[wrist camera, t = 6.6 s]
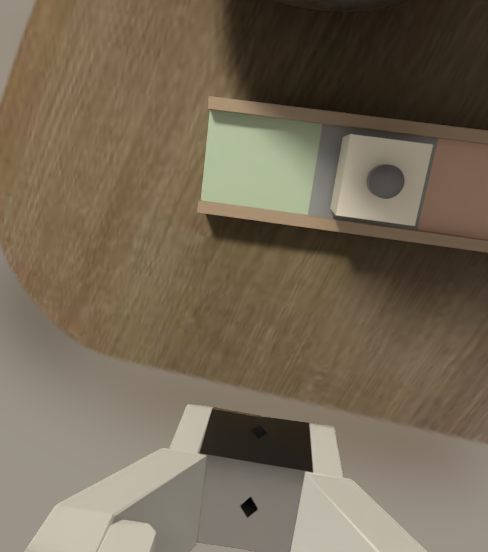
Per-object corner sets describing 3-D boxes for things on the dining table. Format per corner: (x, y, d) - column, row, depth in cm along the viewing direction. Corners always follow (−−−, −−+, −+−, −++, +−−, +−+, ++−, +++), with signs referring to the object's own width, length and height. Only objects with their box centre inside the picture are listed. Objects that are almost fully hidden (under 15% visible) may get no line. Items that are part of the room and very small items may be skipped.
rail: (214, 100, 34) (208, 96, 31) (548, 142, 32) (569, 140, 30) (203, 208, 36) (197, 212, 33) (516, 251, 34) (533, 259, 32)
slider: (342, 136, 32) (353, 133, 27) (415, 146, 31) (439, 144, 26) (330, 208, 33) (337, 217, 28) (399, 217, 33) (420, 228, 28)
